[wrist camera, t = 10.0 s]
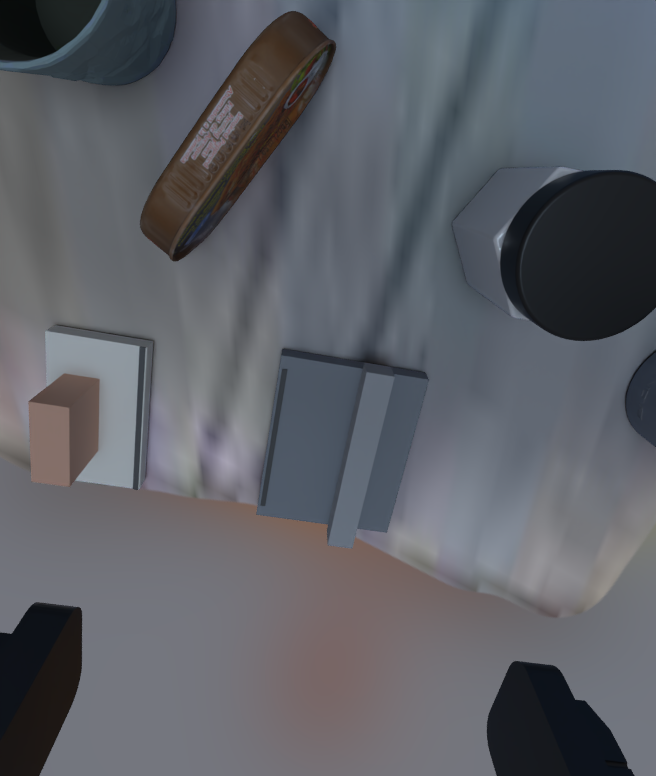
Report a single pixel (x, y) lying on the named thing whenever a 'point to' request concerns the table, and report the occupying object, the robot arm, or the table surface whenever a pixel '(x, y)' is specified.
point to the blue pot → (86, 38)
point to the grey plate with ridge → (339, 442)
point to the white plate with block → (92, 410)
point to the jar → (563, 248)
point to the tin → (237, 133)
